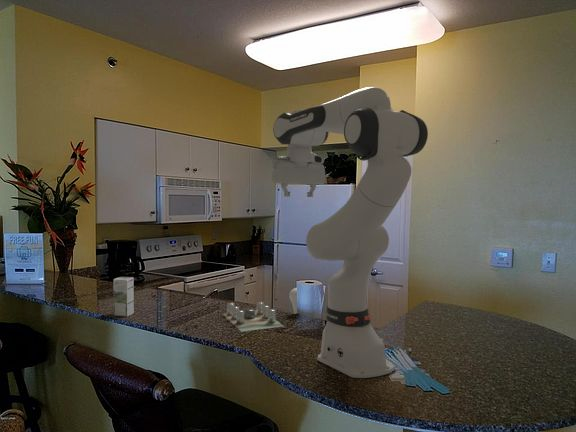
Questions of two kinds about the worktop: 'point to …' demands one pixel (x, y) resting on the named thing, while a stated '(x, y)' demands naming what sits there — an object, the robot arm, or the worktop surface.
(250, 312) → the dark metal plug
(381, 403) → the worktop surface
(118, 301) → the syrup box
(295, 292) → the lightbulb
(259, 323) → the board
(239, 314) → the spacers
